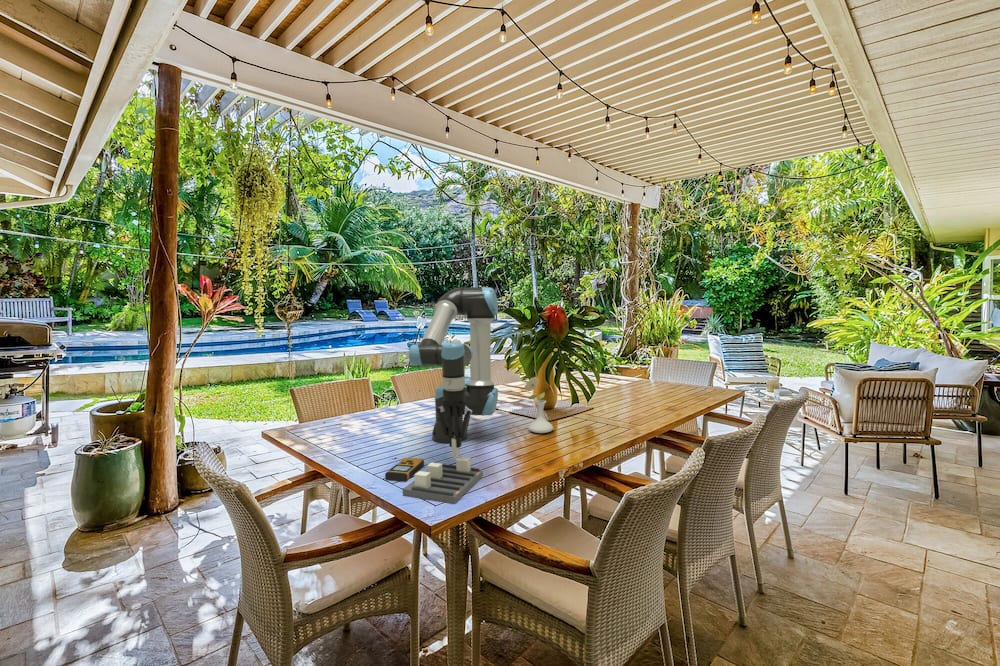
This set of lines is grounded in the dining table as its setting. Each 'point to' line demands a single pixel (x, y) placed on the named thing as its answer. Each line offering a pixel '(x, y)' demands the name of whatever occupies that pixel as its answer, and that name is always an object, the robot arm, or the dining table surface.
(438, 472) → the tab
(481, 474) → the switch bank
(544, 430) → the flower in vase
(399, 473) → the electronic device
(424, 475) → the tab
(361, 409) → the dining table surface
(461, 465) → the tab
